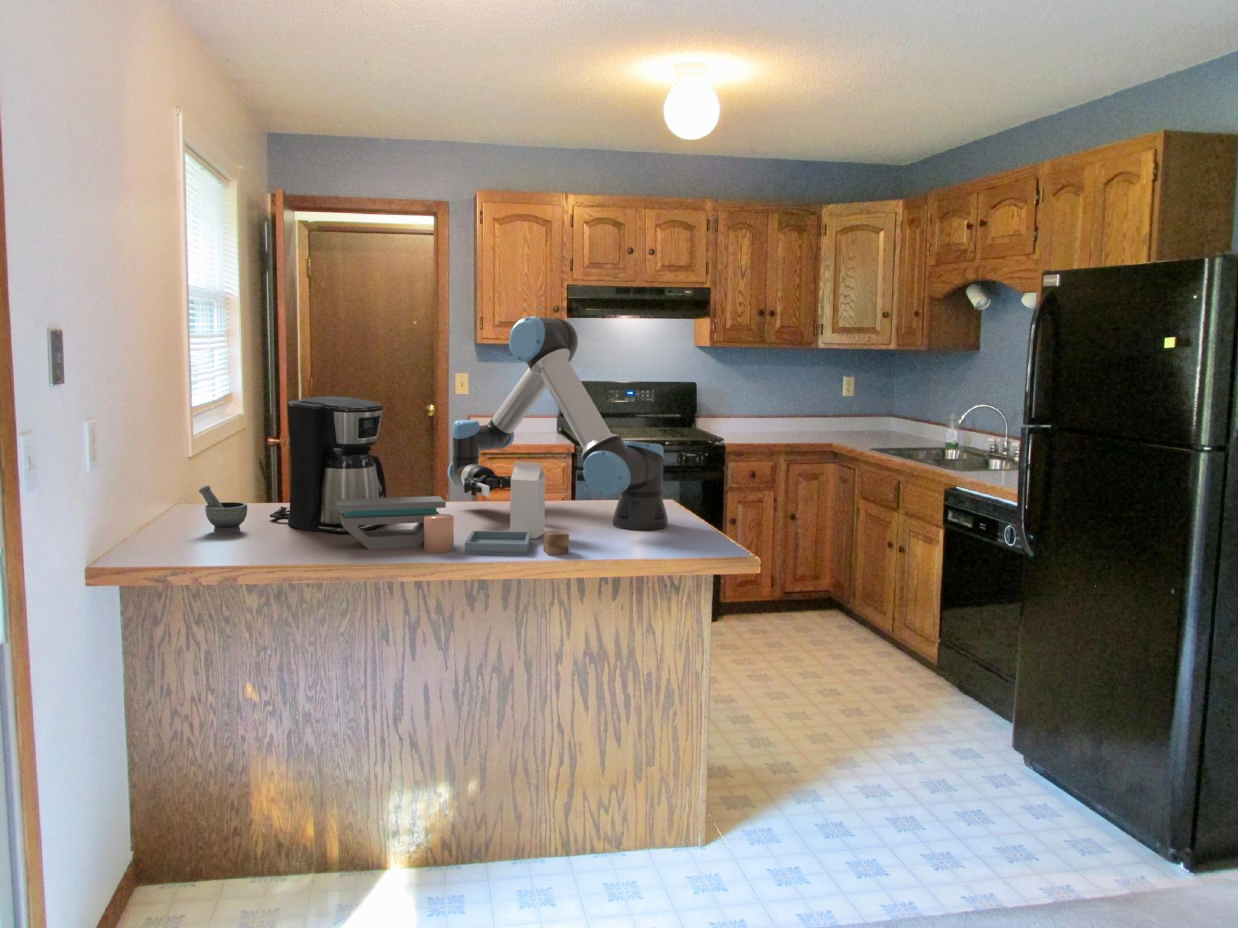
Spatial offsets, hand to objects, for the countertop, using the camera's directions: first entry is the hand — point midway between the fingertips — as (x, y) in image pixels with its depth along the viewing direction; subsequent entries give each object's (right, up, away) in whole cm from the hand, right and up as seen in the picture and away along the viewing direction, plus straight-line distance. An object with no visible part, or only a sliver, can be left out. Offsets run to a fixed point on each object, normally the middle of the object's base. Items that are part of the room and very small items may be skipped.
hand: (511, 490), depth 261 cm
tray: (-1, -13, -22) cm, 25 cm away
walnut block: (+13, -14, -25) cm, 32 cm away
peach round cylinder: (-15, -13, -25) cm, 32 cm away
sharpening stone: (-27, -13, -21) cm, 37 cm away
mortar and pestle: (-71, -10, -12) cm, 73 cm away
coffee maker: (-48, -9, +4) cm, 49 cm away
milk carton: (+5, -12, -6) cm, 14 cm away
